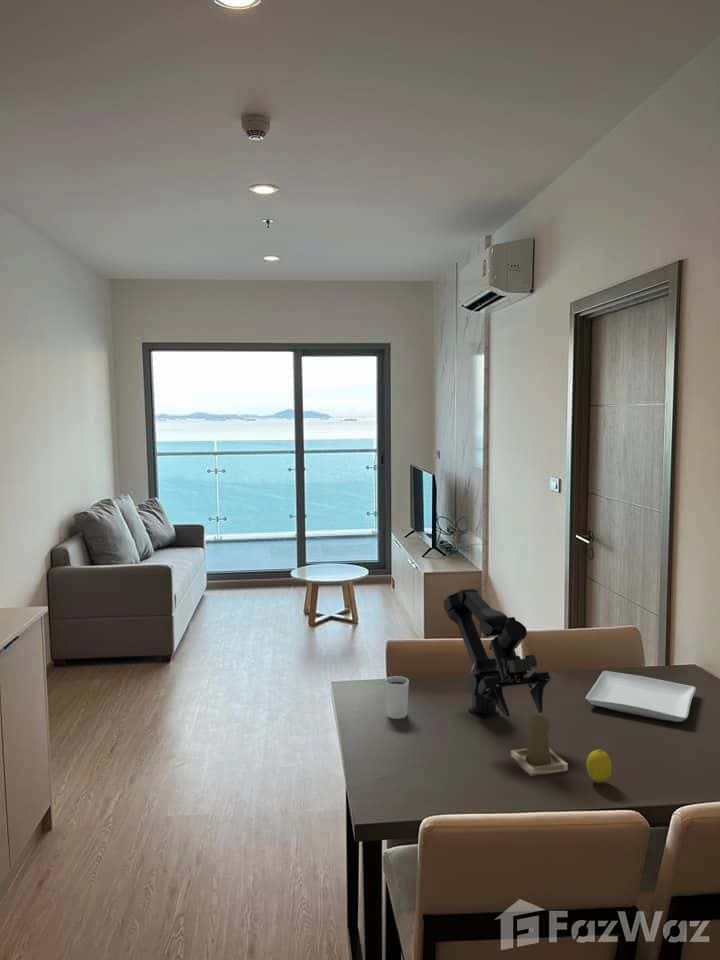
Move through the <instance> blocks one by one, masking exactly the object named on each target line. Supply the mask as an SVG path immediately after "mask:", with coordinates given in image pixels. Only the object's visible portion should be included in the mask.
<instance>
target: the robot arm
mask: <svg viewBox="0 0 720 960" xmlns="http://www.w3.org/2000/svg"><path fill="white" fill-rule="evenodd" d="M443 609H444V611H445V612H446V614H447V616H448V618H449V620H451V621H453V622H454V623H455V624H456V625H457V627H458V630H459V633H460V635H461V638H462V640H463V643H464V645H465V648H466V650H467V653H468V656H469V658H470V661H471V664H472V667H471V670H470V677H469V679H467V681H466V690H467V691H468V692H469V693H470V694H471V695H472V704H471V705H472V707H470V708H468V712H470V713H472V714H474V715H476V716H478V717H479V718H482V719H485V718H489V717H493V716H495V715H499V714H500V712H502V714H503V715H504V716H505V717H506V718H509V717H510V712H509V708H508V706H507V702H506V700H505V697H504V693H503V688H510V687H520V686H528V687H529V688H530V689H531V690H530V691H529V692H530V695H531V697H532V700H533V702H534V706H535V707H536V709H537V711H538V713H539V714H542V713H543V694H544V689H545V687H547V685H548V684H549V683H550V682H551V681H552V677H551V673H549V672H548V671H547V670H541V671H537V670H536V671H533V668H536V667H537V666H538V661H537V659H536V656H535V654H527V655H525V656H524V657H525V658H522V657H521V656H520V655H517V653H516V649H518V647H519V645H520V644H521V643H522V642H523V641H524V639H525V638H526V637H527V634H528V633H527V632H528V630H527V627H526V626H525V625H524V624H523V623H522V622H521V621H519V620H518V621H517V620H516V617H515V616H512V617H510V616H509V617H508V616H507V615H506V614H505V613H504V612H502V611H500V610H497V609H493V608H492V607H491V606H490V605H489V603H487V602H486V601H485V600H484V599H483V598H482V597H481V596H480V595H479V593H478V590H477V589H476V588H464V589H459V590H458V591H457V592H455V593H453V594H451V595H448V596H447V597H446V598H445V599H444V600H443ZM473 615H474V616H475V618H476V620H478V621H479V627H478V629H480V631H481V633H482V634H483V636H485V637H486V638H487V637H490V638H491V637H494V638H493V639H491V640H490V644H489V646H488V650H489V651H492V652H493V657H494V658H490V657H488V654H487V652H486V650H485V649H486V648H485V647H484V644H483V641H482V639H481V636H480V634H479V632H478V629H477V627H476V624H475V621H474V620H473ZM532 671H533V673H532V674H531V675H530V676H527V674H528V672H532ZM525 676H526V677H525ZM497 708H498V709H499V710H500V711H499V710H497Z"/></svg>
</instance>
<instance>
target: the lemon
mask: <svg viewBox="0 0 720 960" xmlns="http://www.w3.org/2000/svg"><path fill="white" fill-rule="evenodd" d="M612 766H613V765H612V760H611V758H610V756H609V754H608V753H606V752H605V751H604V750H602V749H601V748H600V749H596V750H593V751H591V752H590V753H589V755H588V757H587V758H586V766H585V767H586V772H587V774H588V776H589V777H590V778H591V780H594V781H595V782H596V784H600V783H602V782H605V781H607V780H608V779H609V778H610V776H611V774H612Z"/></svg>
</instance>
